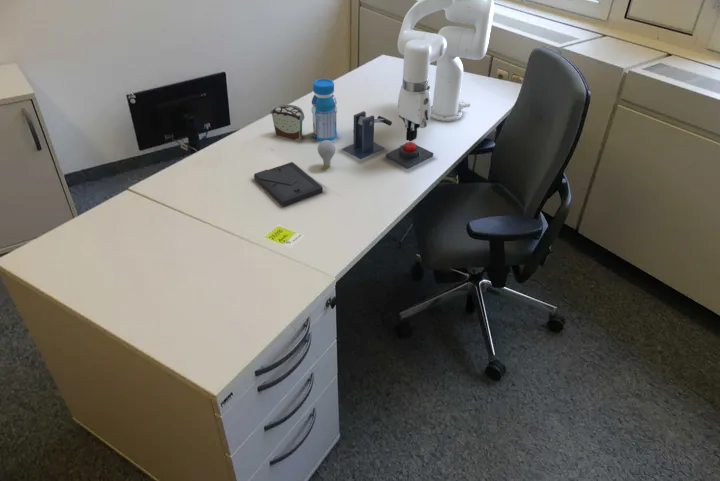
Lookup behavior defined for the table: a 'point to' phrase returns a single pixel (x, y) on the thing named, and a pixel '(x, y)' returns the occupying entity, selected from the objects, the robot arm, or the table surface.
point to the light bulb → (326, 152)
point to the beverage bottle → (324, 110)
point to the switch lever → (376, 120)
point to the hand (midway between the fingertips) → (411, 139)
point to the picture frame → (288, 184)
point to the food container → (287, 121)
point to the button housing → (409, 156)
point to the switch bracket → (363, 138)
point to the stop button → (410, 147)
